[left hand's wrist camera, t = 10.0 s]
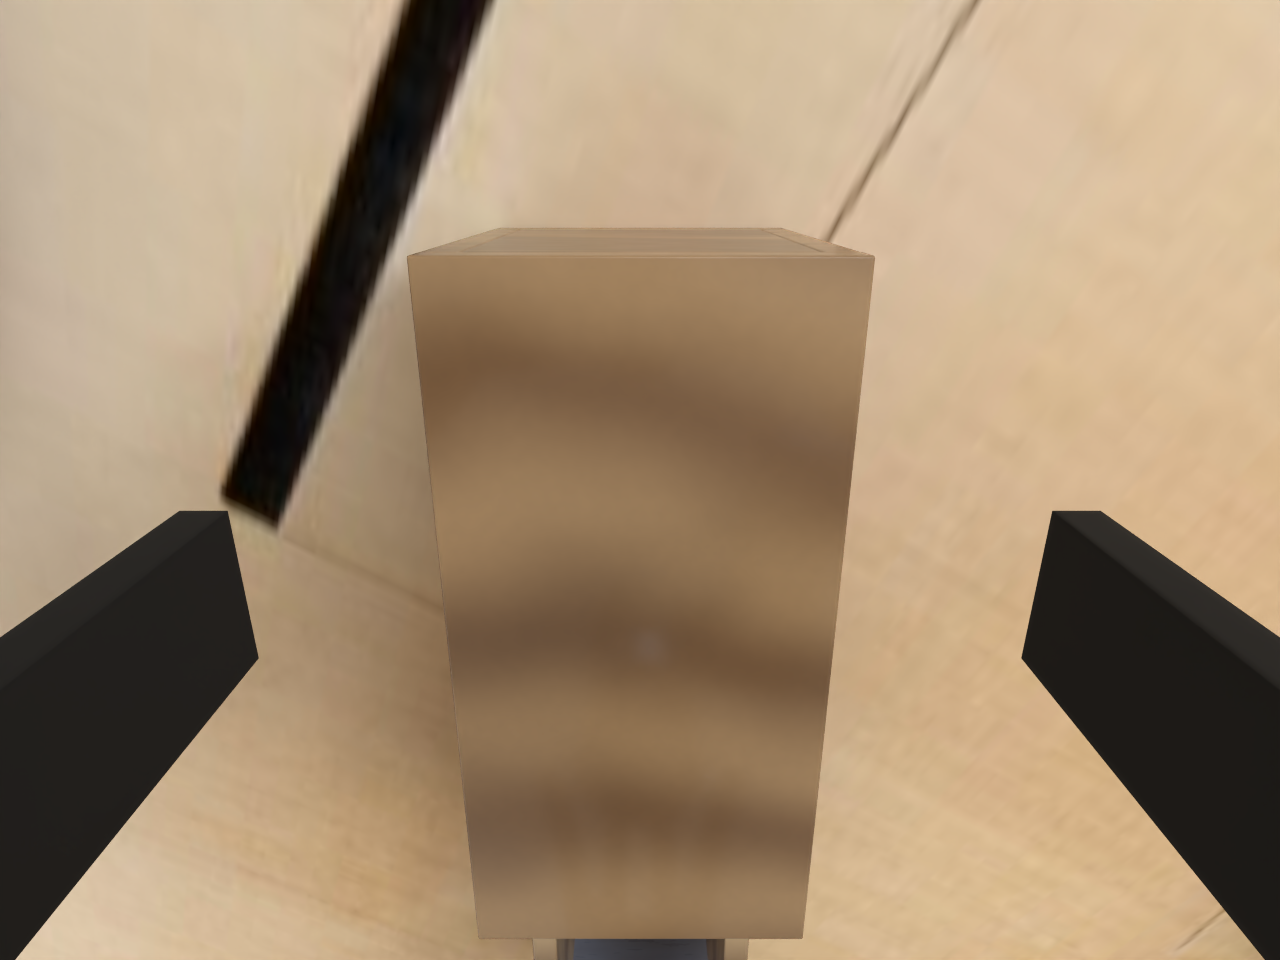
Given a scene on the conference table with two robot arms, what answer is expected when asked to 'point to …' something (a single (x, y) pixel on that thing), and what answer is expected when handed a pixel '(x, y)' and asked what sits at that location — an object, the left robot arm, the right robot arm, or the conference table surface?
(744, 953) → the drawer
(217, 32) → the conference table surface
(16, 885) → the left robot arm
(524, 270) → the cabinet
